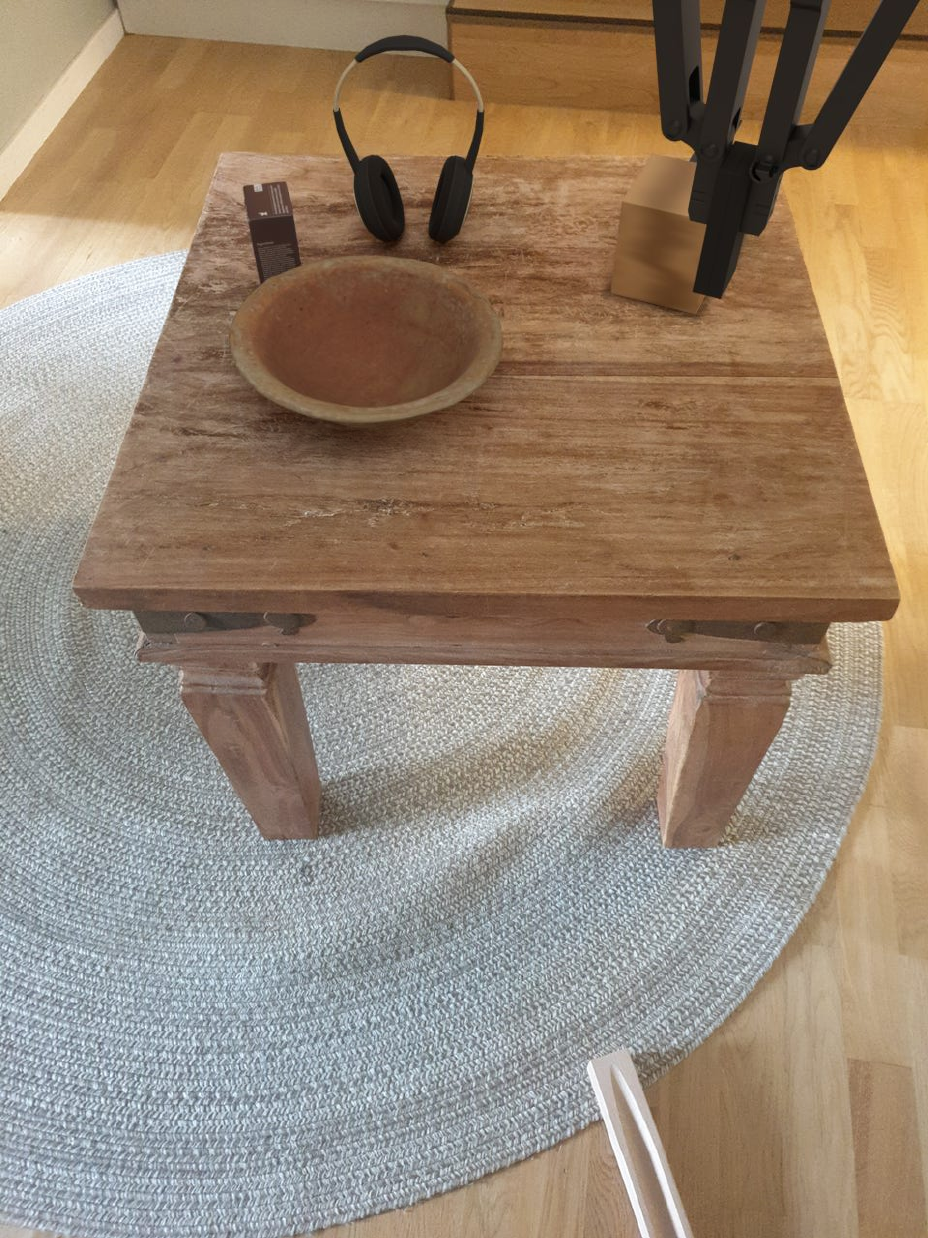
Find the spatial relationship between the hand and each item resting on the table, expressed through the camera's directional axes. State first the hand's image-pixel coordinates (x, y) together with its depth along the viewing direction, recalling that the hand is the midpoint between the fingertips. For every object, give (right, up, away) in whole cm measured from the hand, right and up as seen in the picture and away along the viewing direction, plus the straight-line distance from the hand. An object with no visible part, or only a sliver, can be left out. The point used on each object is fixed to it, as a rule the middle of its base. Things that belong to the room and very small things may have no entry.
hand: (714, 280), depth 48 cm
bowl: (-21, +4, +39) cm, 45 cm away
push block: (+8, +18, +48) cm, 51 cm away
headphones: (-18, +24, +53) cm, 61 cm away
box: (-31, +14, +46) cm, 57 cm away
